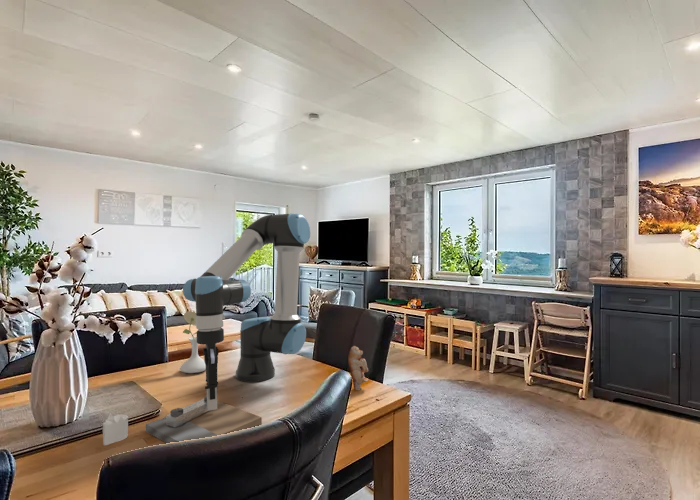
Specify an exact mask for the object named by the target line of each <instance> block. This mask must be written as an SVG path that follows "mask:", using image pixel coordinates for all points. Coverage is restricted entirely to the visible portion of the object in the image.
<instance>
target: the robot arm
mask: <svg viewBox="0 0 700 500" xmlns="http://www.w3.org/2000/svg"><path fill="white" fill-rule="evenodd" d="M240 236H241V237H240V238H238V239H237V240H236V242H234V243H233V244H232V245H231V246H230V247H229V248H228V249H227V250H226V251H225V252H224V253H223V254H222V255H221V256H219V258H217V260H216V261H215V262H214V263H212V265H211V266H210V267H208V269H206V270H205V271H204V273H202V274H201V275H200V276H199V277H197V278H191V279H188V280H187V281H185V283H184V285H183V287H182V293H183V296H184V298H185V300H187V301H190V302H194V303H195V313H196V326H195V328H196V329H197V331H196V332H197V333H196V337H197V343H198V345H201V346H202V345H205V348H203V349H202V353H203V360H204V362H205V365H206V370H205V382H206V383H205V384H206V386H204V390H206V396H207V410H208V411H210V410H215V409H217V401H218V385H219V381H218V363H219V362H218V361H219V348H218V346H216V344H220V343H221V342H224V339H225V336H224V335H225V334H224V333H225V331H224V328H223V327H224V320H225V319H226V316H225V315H224V307H225V306H230V305H237V304H241V303H244V302H247V301H248V300H249V298H250V297H251V294H252V289H251V286H250V284H249V282H248V281H247V280H244V279H234V280H233V279H232V280H231V279H230V278H231V277H232V276H233V275H234V274H235V273H236V272H237V271H238V270H239V269H240V268H241V267H242V265H244V263H246V261H248V259H249V258H250V257H251V256H252V255H253V254H254V253H255V252H256V251H258V250H261V249H262V248H263V247H264V246H267V245H268V244H269V245H270V244H271V245H272V244H273V249H275V251H277V254H276V255H277V258H276V277H275V278H276V279H275V280H276V281H275V298H274V300H275V301H274V314H273V315H272V316H271V317H270V316H261V317H254V318H253V317H252V318H246V319H244V320H243V321H241V323H240V330H239V332H240V342H239V343H240V359H239V361H238V364H237V368H236V370H235V379H236V380H237V381H240V382H246V383H248V382H249V383H253V382H255V383H256V382H262V381H266V380H269V379H272V378H274V377H275V375H276V373H275V372H276V371H275V370H276V369H275V367H274V363H273V360H272V357H271V353H274V354H275V353H276V354H283V355H296V354H298V353H299V352H300V351H301V350H302V348H303V347H304V345H305V342H306V338H307V329H306V326H305V325H304V324H302V323H301V321H302V319H301V317H300V315H298V298H299V297H298V295H299V278H300V277H299V276H300V275H299V274H300V256H301V255H300V253H301V252H302V251H303V250H304V247H305V244H307V243H308V242H310V237H311V227H310V224H309V222H308V220H307V218H306V217H305V216H304V215H303V214H301V213H281V214H268V215H264V216H262V217H259V218H257V219H256V220H255V221H253V222H252V223H250V225H248V226H247V227H246V228H244V230H243V231H242V232H241V235H240Z"/></svg>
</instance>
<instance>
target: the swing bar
mask: <svg viewBox="0 0 700 500" xmlns="http://www.w3.org/2000/svg"><path fill="white" fill-rule="evenodd" d="M207 411H208V410H207V395H205V396H203V398H202V399H200V400H197V401H195V402H193V403H191V404H189V405H186V406H184V407H181V408H180V407H177V408H173V409H171V410H170V413H169V414H166V415H165V417H166V425H169V426H173V427H177V426H179V425H181V424H183V423H185V422H187V421H189V420H191V419H193V418H195V417H197V416H199V415H201V414H203V413H205V412H207Z"/></svg>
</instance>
